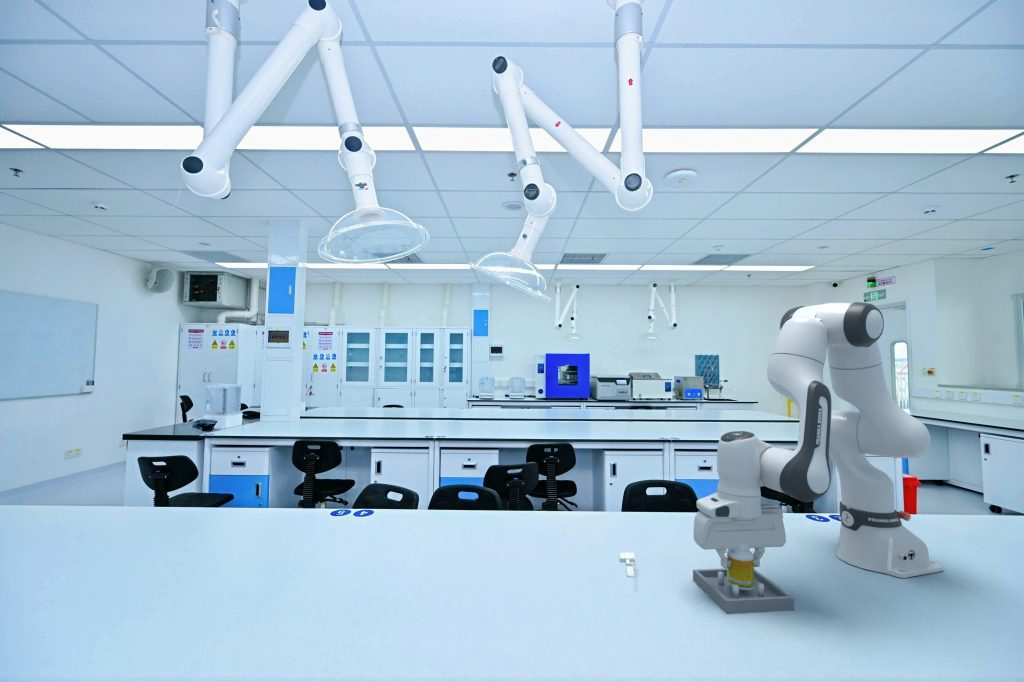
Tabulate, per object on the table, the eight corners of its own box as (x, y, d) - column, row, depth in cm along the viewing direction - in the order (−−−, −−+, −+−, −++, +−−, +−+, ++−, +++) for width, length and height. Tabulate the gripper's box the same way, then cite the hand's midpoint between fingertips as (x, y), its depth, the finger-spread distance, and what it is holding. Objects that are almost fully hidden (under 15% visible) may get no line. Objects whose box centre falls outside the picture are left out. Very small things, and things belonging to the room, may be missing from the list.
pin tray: (752, 577, 107) (752, 563, 107) (794, 610, 93) (793, 593, 93) (693, 580, 106) (692, 565, 106) (726, 613, 92) (726, 596, 92)
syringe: (646, 595, 99) (646, 588, 99) (625, 593, 100) (625, 586, 100) (635, 557, 119) (635, 550, 119) (617, 555, 120) (617, 549, 120)
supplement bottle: (757, 592, 96) (757, 546, 97) (731, 589, 97) (730, 544, 98) (749, 580, 101) (749, 537, 102) (724, 578, 102) (723, 535, 103)
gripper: (772, 498, 104) (774, 558, 104) (689, 501, 102) (690, 561, 102) (791, 507, 98) (793, 571, 97) (703, 510, 96) (705, 575, 95)
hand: (740, 566), depth 100 cm, fingers closed on supplement bottle, 5 cm apart
